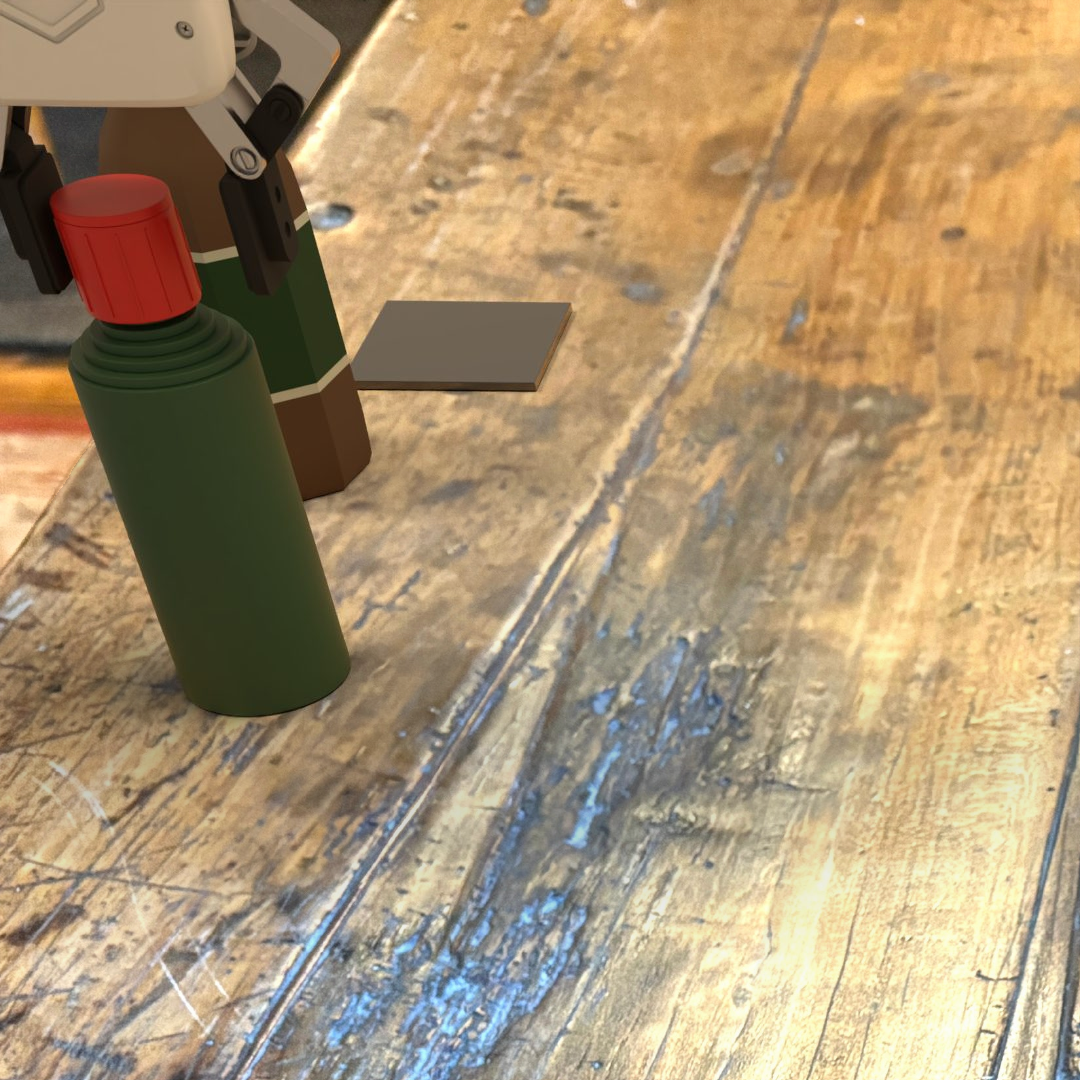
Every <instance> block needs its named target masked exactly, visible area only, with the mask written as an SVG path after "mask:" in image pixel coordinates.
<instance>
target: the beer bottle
mask: <svg viewBox="0 0 1080 1080" xmlns="http://www.w3.org/2000/svg"><path fill="white" fill-rule="evenodd" d="M98 139H99V140H98V165H97V166H98V169H97V171H98V172H97V176H101V175H110V174H138V175H145V176H150V177H154V178H157V179H159V180H161V181H163V182H164V183H165V184H166V185H167V186H168V188H169V191H170V194H171V198H172V200H173V204H174V206H176V207H177V211H178V214H179V217H180V220H181V223H182V227H183V230H184V233H185V236H186V239H187V243H188V246H189V249H190V252H191V255H192V259H193V262H194V265H195V268H196V271H197V275H198V278H199V281H200V284H201V287H202V289H200V290H201V299H200V301H199V303H201V304H203V305H205V306H207V307H208V308H211V309H214V310H216V311H218V312H220V313H221V314H223V315H226V316H229V317H231V318H233V319H234V320H236V321H237V322H238V323H239V324H240V325H241V326H242V327H243V329H244V330H246V331H247V332H248V333H249V334H250V335H251V336H252V338H253V340H254V342H255V345H256V349H257V352H258V355H259V359H260V362H261V365H262V369H263V372H264V375H265V379H266V382H267V385H268V388H269V392H270V395H271V398H272V402H273V405H274V408H275V412H276V415H277V418H278V421H279V425H280V428H281V431H282V435H283V438H284V441H285V445H286V448H287V451H288V454H289V458H290V461H291V464H292V468H293V471H294V474H295V478H296V481H297V484H298V488H299V491H300V494H301V497H302V501H306V500H309V499H313V498H317V497H321V496H324V495H328V494H333V493H335V492H339V491H343V490H345V489H346V487H348V485H349V484H350V483H352V481H353V480H354V479H355V478H356V477H357V476H358V474H360V473H361V472H362V470H364V468H365V467H366V466H367V465H368V464H369V463H370V462H371V457H372V453H373V451H372V447H371V446H372V445H371V442H370V436H369V432H368V427H367V423H366V417H365V413H364V410H363V406H362V402H361V399H360V396H359V392H358V391H359V390H358V389H357V388H356V384H355V380H354V377H353V373H352V369H351V366H350V364H351V361H350V359H349V356H348V351H347V348H346V344H345V340H344V338H343V337H344V336H343V334H342V329H341V326H340V323H339V319H338V316H337V312H336V309H335V305H334V302H333V297H332V294H331V290H330V286H329V283H328V279H327V276H326V272H325V268H324V265H323V261H322V257H321V254H320V250H319V247H318V243H317V240H316V236H315V233H314V229H313V228H314V227H313V225H312V222H311V219H310V213H309V210H308V207H307V204H306V202H305V199H304V197H303V193H302V191H301V188H300V185H299V182H298V180H297V177H296V174H295V171H294V169H293V166H292V163H291V162H290V160H289V159H288V157H287V155H286V154H285V152H284V151H283V150H282V148H281V147H280V148H279V149H278V151H277V152H276V154H275V156H276V160H277V164H278V167H279V171H280V174H281V178H282V181H283V185H284V188H285V192H286V195H287V199H288V203H289V206H290V210H291V213H292V217H293V220H294V224H295V227H296V231H297V235H298V241H299V253H298V256H297V258H296V259H295V261H294V262H292V266H291V268H290V270H289V272H288V273H287V275H286V276H285V278H284V280H283V281H282V283H281V284H280V286H279V288H278V289H277V291H276V292H275V294H274V296H257V295H256V294H255V293H254V292H251V291H250V290H249V288H248V285H247V282H246V279H245V275H244V272H243V269H242V265H241V262H240V259H239V255H238V252H237V249H236V245H235V242H234V239H233V235H232V232H231V229H230V225H229V222H228V219H227V215H226V212H225V209H224V205H223V202H222V199H221V195H220V192H219V182H220V180H221V179H222V177H223V176H224V174H225V173H226V172H227V170H226V166H225V163H224V160H223V158H222V157H221V155H220V154H219V153H218V151H217V150H216V149H215V147H214V146H213V145H212V143H211V142H210V141H209V139H208V138H207V137H206V135H205V134H204V133H203V132H202V130H201V129H200V128H199V126H198V125H197V124H196V122H195V121H194V120H193V118H192V117H191V116H190V114H189V113H188V112H187V110H186V109H185V108H184V107H107V111H106V114H105V117H104V120H103V123H102V126H101V129H100V132H99V135H98Z"/></svg>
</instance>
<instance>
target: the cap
mask: <svg viewBox="0 0 1080 1080" xmlns="http://www.w3.org/2000/svg"><path fill="white" fill-rule="evenodd" d="M50 206H51V209H52V212H53V214H54V222H55V225H56V228H57V231H58V234H59V237H60V240H61V242H62V245H63V248H64V251H65V254H66V257H67V260H68V263H69V265H70V268H71V271H72V274H73V277H74V278H73V280H74V283H75V285H76V288H77V291H78V294H79V297H80V300H81V302H82V303H84V307H85V309H86V311H87V313H88V314H89V315H90V316H91V317H93V318H94V319H95V318H97V319H99V320H101V321H105V322H110V323H116V324H144V323H151V322H157V321H163V320H166V319H169V318H173V317H176V316H178V315H181V314H184V313H185V312H187V311H189V310H191V309H192V308H193V307H195V306H196V305H197V304H198V303H199V301H200V299H201V290H200V289H202V287H201V284H200V281H199V278H198V275H197V271H196V268H195V265H194V262H193V259H192V255H191V252H190V249H189V246H188V243H187V239H186V236H185V233H184V230H183V227H182V223H181V220H180V217H179V214H178V211H177V207H176V206H174V204H173V200H172V198H171V194H170V191H169V188H168V186H167V185H166V184H165V183H164V182H163V181H161V180H159V179H157V178H154V177H150V176H145V175H138V174H110V175H101V176H98V175H95V176H91V177H86V178H82V179H79V180H75V181H73V182H70V183H67V184H66V185H63V187H62V188H60V189H58V190H57V191H56V192H55V193H54V194H53V195H52V196H51V198H50Z"/></svg>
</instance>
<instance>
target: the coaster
mask: <svg viewBox="0 0 1080 1080" xmlns="http://www.w3.org/2000/svg"><path fill="white" fill-rule="evenodd" d="M572 312H573V305H572V303H571V302H564V301H563V302H562V301H561V302H560V301H559V302H558V301H483V300H482V301H479V300H477V301H476V300H474V301H471V300H398V299H397V300H394V299H393V300H392V299H391V300H389V299H387V300H386V301H385V302H384V304H383V306H382V308H381V309H380V311H379V312H378V314H377V316H376V318H375V320H374V322H373V324H372V325H371V327H370V328H369V330H368V332H367V334H366V335H365V337H364V339H363V340H362V343H361V344H360V345H359V348H358V349H357V351H356V353H355V355H354V357H353V358H352V360H351V361H350V366H351V369H352V373H353V377H354V380H355V384H356V388H357V390H428V391H429V390H431V391H432V390H436V391H442V390H445V391H456V390H457V391H458V390H459V391H527V392H528V391H531V392H533V391H534V392H535V391H538V388H539V385H540V383H541V381H542V379H543V376H544V375H545V372H546V370H547V367H548V365H549V363H550V361H551V358H552V356H553V354H554V352H555V350H556V347H557V345H558V343H559V341H560V339H561V336H562V334H563V332H564V330H565V327H566V325H567V324H568V321H569V318H570V317H571V314H572Z"/></svg>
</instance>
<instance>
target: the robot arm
mask: <svg viewBox="0 0 1080 1080" xmlns="http://www.w3.org/2000/svg"><path fill="white" fill-rule="evenodd" d="M258 39H260V40H261V41H262V42H264V43H265V44H266V45H267V46H269V47H270V48H272V49H273V51H274V52H276V54H277V56H278V58H279V60H280V68H279V70H278V73H277V74H276V76H275V78H274V80H273V81H272V83H271V84H270V86H269V88H268V90H267V91H266V92H265V94H264V95H263V97H262V98H261V97H260V95H259V93H257V91H256V90H255V88H254V87H253V86H252V84H251V83H250V82H249V80H248V79H247V77H246V76H245V74H243V72H242V70H241V69H240V68H239V67H238V65H237V64H236V63H237V62H238V61H241V60H243V59H245V58H247V57H248V56H250V55H251V54H252V53H253V52H254V50H255V49H256V47H257V45H258V44H257V43H258ZM340 54H341V44H340V42H339V40H338V38H337V37H336V36H335V35H334V34H333V33H332V32H331V31H329V29H327V28H325V27H324V26H323V24H321V23H319V22H318V21H316V20H315V19H314V18H312V17H311V16H310V15H309V14H308V13H307V12H305V11H304V10H303V9H301V8H300V7H299V6H297V5H296V4H295V3H294V2H293V1H291V0H0V213H1V216H2V220H3V222H4V224H5V228H6V230H7V233H8V235H9V238H10V241H11V244H12V246H13V249H14V251H15V253H16V255H17V257H18V258H19V259H20V260H22V261H28V264H29V267H30V270H31V273H32V276H33V278H34V281H35V285H36V287H37V289H38V291H39V293H40V294H41V295H47V296H48V295H50V296H52V295H54V296H56V295H57V296H58V295H60V294H61V293H62V292H63V291H65V290H66V289H67V287H68V286H69V285H70V284H71V283H72V281H73V280H74V277H73V274H72V271H71V268H70V265H69V263H68V260H67V257H66V254H65V251H64V248H63V245H62V242H61V240H60V237H59V234H58V231H57V228H56V225H55V222H54V214H53V212H52V209H51V206H50V198H51V196H52V195H53V194H54V193H55V192H56V191H57V190H58V189H60V188H62V187H64V185H63V181H62V179H61V176H60V172H59V169H58V167H57V163H56V162H55V158H54V156H53V154H52V153H51V152H48V150H47V147H46V144H41V143H39V144H35V142H34V140H33V137H32V136H31V135H30V126H31V117H32V116H31V115H32V107H60V108H61V107H62V108H63V107H65V108H68V107H69V108H109V107H184V108H185V109H186V110H187V112H188V113H189V114H190V116H191V117H192V118H193V120H194V121H195V122H196V124H197V125H198V126H199V128H200V129H201V130H202V132H203V133H204V134H205V135H206V137H207V138H208V139H209V141H210V142H211V143H212V145H213V146H214V147H215V149H216V150H217V151H218V153H219V154H220V155H221V157H222V158H223V160H224V163H225V166H226V170H227V172H226V173H225V174H224V176H223V177H222V179H221V180H220V182H219V192H220V195H221V199H222V202H223V205H224V209H225V212H226V215H227V219H228V222H229V225H230V229H231V232H232V235H233V239H234V242H235V245H236V249H237V252H238V255H239V259H240V262H241V265H242V269H243V272H244V275H245V279H246V282H247V285H248V288H249V290H250V291H251V292H254V293H255V294H256V295H257V296H274V294H275V292H276V291H277V289H278V288H279V286H280V284H281V283H282V281H283V280H284V278H285V276H286V275H287V273H288V272H289V270H290V268H291V266H292V262H294V261H295V259H296V258H297V256H298V253H299V241H298V235H297V231H296V227H295V224H294V220H293V217H292V213H291V210H290V206H289V203H288V199H287V195H286V192H285V188H284V185H283V181H282V178H281V174H280V171H279V167H278V164H277V160H276V156H275V154H276V152H277V151H278V149H279V148H281V147H282V145H283V144H284V142H285V141H286V140H287V138H288V137H289V136H290V134H291V132H292V131H293V129H294V128H295V127H296V126H297V124H298V122H299V121H300V119H301V118H302V117H303V115H304V114H305V112H306V110H307V109H308V108H309V106H310V105H311V102H312V101H313V99H314V98H315V97H316V95H317V93H318V91H319V90H320V88H321V86H322V85H323V84H324V82H325V80H326V79H327V77H328V75H329V73H330V72H331V71H332V68H333V67H334V65H335V64H336V62H337V60H338V59H339V57H340Z"/></svg>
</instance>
